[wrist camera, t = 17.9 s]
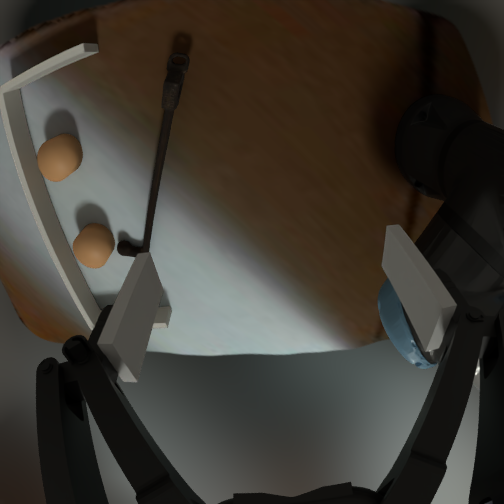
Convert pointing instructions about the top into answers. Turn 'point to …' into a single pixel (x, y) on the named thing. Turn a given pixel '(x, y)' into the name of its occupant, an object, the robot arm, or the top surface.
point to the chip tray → (35, 188)
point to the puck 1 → (59, 157)
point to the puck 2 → (94, 245)
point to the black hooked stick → (160, 147)
